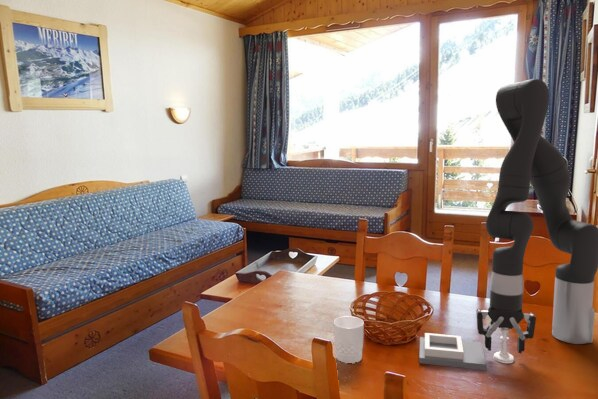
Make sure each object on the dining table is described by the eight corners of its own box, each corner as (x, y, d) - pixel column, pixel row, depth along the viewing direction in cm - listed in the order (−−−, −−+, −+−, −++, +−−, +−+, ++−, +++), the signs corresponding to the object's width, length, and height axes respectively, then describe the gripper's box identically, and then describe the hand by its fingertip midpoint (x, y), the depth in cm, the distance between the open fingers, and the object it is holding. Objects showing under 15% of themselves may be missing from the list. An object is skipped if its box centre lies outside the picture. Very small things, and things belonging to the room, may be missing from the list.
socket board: (480, 347, 124) (481, 335, 123) (486, 370, 112) (486, 356, 112) (419, 342, 128) (420, 330, 127) (419, 363, 117) (419, 350, 116)
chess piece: (516, 364, 115) (518, 326, 113) (495, 362, 116) (496, 325, 114) (511, 354, 120) (513, 318, 118) (491, 353, 121) (492, 317, 119)
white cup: (356, 368, 115) (355, 330, 114) (328, 360, 119) (328, 324, 118) (368, 354, 122) (368, 319, 120) (342, 348, 126) (341, 313, 124)
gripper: (534, 285, 117) (531, 346, 119) (474, 282, 120) (472, 341, 123) (541, 296, 109) (538, 360, 112) (477, 292, 113) (475, 354, 116)
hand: (503, 350), depth 117 cm, fingers open, 6 cm apart
